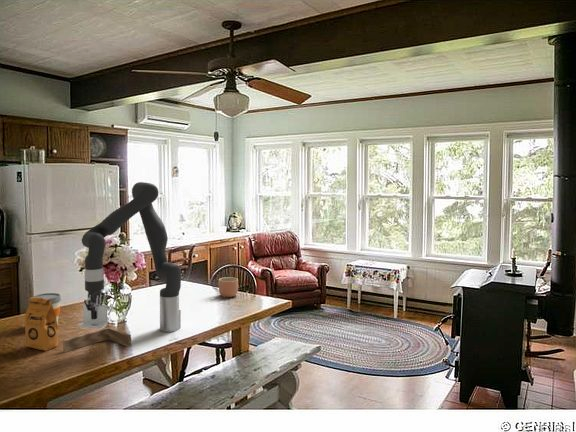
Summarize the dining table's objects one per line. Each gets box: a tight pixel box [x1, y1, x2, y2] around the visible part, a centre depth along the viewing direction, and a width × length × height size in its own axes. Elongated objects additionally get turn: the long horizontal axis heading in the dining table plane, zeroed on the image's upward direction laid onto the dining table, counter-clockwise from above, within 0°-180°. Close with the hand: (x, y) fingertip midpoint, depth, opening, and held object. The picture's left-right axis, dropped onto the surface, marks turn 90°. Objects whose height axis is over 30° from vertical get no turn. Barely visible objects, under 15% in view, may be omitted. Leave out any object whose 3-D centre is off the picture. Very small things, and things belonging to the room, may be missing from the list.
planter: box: [218, 276, 239, 298], centre depth 285 cm, size 12×12×11 cm
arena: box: [62, 326, 132, 353], centre depth 195 cm, size 22×16×5 cm
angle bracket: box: [77, 303, 109, 329], centre depth 189 cm, size 10×6×8 cm, turn 85°
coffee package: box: [24, 296, 59, 352], centre depth 195 cm, size 10×12×22 cm
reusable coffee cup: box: [33, 292, 62, 325], centre depth 223 cm, size 13×13×15 cm
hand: (95, 318), depth 191 cm, fingers closed on angle bracket, 1 cm apart
